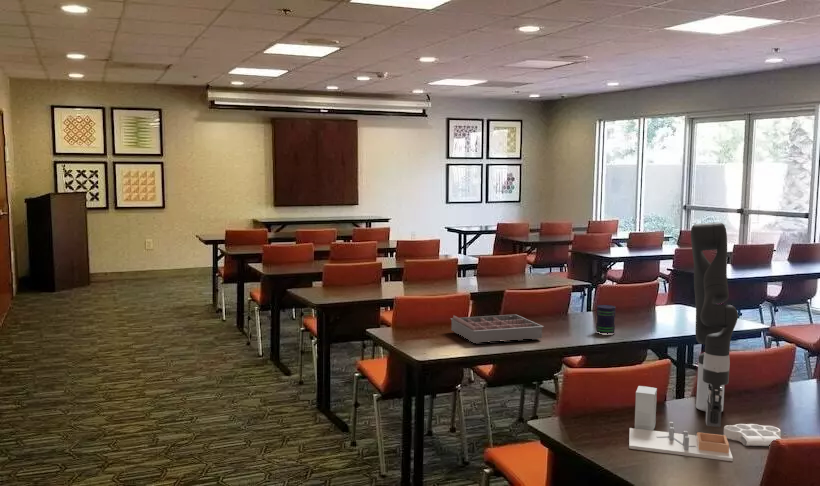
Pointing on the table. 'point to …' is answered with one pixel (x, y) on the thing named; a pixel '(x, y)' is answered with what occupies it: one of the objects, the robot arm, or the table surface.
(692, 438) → the board
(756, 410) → the table surface
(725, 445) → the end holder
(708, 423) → the dark grey block
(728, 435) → the white brass knuckles
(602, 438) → the table surface
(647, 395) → the small box
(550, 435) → the table surface
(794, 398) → the table surface
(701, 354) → the robot arm
